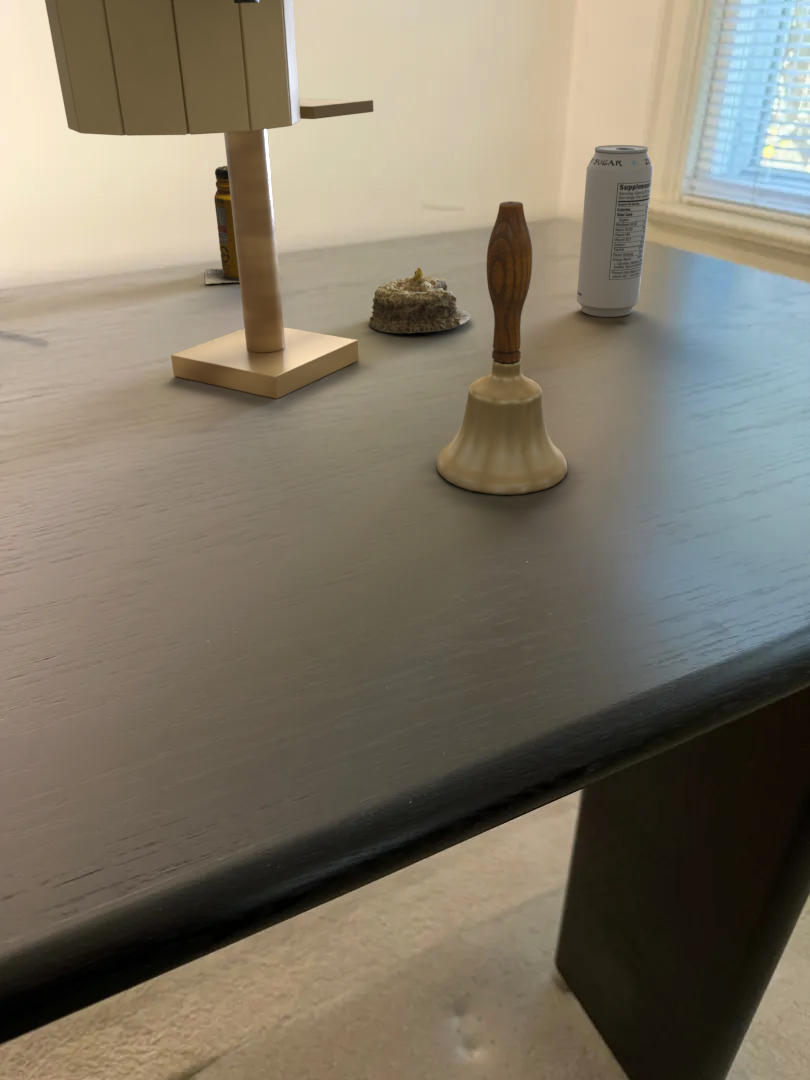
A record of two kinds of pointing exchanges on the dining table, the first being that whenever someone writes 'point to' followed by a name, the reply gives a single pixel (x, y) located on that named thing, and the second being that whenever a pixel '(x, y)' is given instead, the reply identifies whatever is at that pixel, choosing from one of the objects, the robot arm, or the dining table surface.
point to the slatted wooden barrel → (181, 67)
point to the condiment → (224, 233)
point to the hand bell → (505, 386)
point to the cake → (415, 306)
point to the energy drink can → (614, 229)
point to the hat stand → (260, 297)
